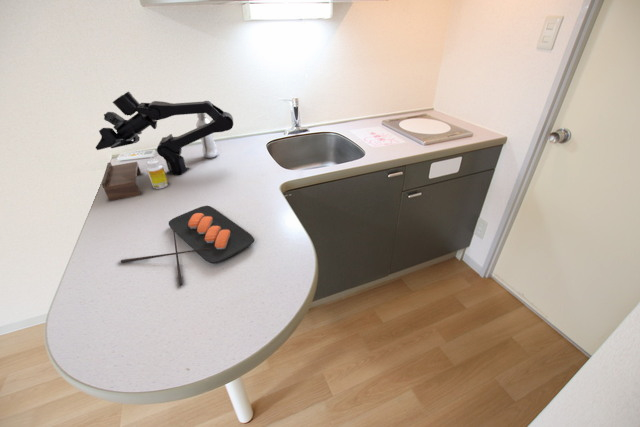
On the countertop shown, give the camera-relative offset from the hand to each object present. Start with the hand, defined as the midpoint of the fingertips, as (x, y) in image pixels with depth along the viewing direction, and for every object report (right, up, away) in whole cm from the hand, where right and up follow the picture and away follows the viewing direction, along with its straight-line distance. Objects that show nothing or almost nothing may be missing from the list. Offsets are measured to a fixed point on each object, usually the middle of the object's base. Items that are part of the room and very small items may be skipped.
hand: (103, 148), depth 119 cm
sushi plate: (+45, -35, -31) cm, 65 cm away
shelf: (+8, -15, +2) cm, 17 cm away
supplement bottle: (+21, -15, +1) cm, 26 cm away
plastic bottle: (+33, +1, +25) cm, 41 cm away
